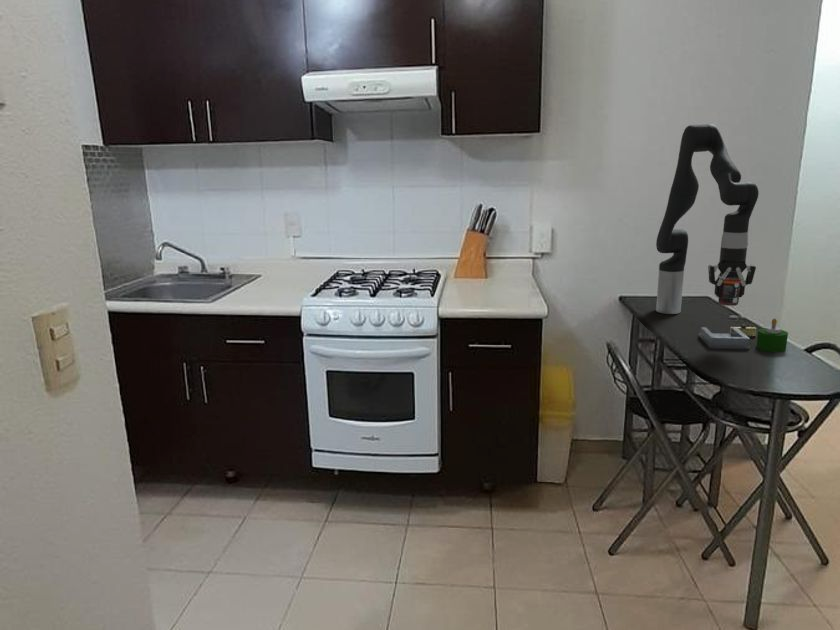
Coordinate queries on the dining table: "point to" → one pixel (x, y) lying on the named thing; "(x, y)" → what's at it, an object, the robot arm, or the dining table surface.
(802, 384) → the dining table surface
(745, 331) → the bar
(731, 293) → the supplement bottle
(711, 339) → the dock
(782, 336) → the candle
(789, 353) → the dining table surface
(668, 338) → the dining table surface
